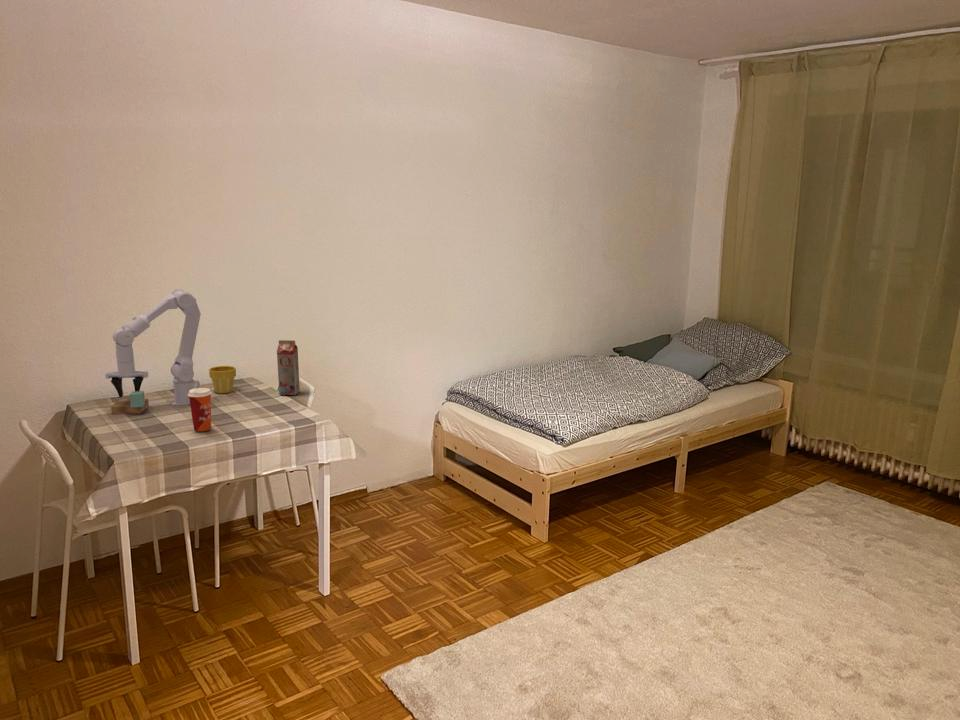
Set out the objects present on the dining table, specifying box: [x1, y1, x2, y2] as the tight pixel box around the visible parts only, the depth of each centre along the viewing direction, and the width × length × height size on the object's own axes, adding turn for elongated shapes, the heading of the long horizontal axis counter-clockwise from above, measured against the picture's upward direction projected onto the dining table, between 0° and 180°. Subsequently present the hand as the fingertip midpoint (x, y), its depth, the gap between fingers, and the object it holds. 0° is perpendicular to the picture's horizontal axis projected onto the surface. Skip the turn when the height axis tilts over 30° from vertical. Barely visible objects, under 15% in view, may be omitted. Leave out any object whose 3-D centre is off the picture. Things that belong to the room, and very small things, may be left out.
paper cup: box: [188, 387, 212, 432], centre depth 252 cm, size 8×8×14 cm
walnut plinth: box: [110, 398, 149, 415], centre depth 273 cm, size 10×10×3 cm
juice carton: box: [276, 339, 301, 396], centre depth 297 cm, size 7×7×22 cm
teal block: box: [129, 390, 146, 407], centre depth 268 cm, size 4×4×5 cm
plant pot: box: [208, 365, 237, 394], centre depth 299 cm, size 10×10×10 cm
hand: (129, 396), depth 272 cm, fingers open, 5 cm apart
